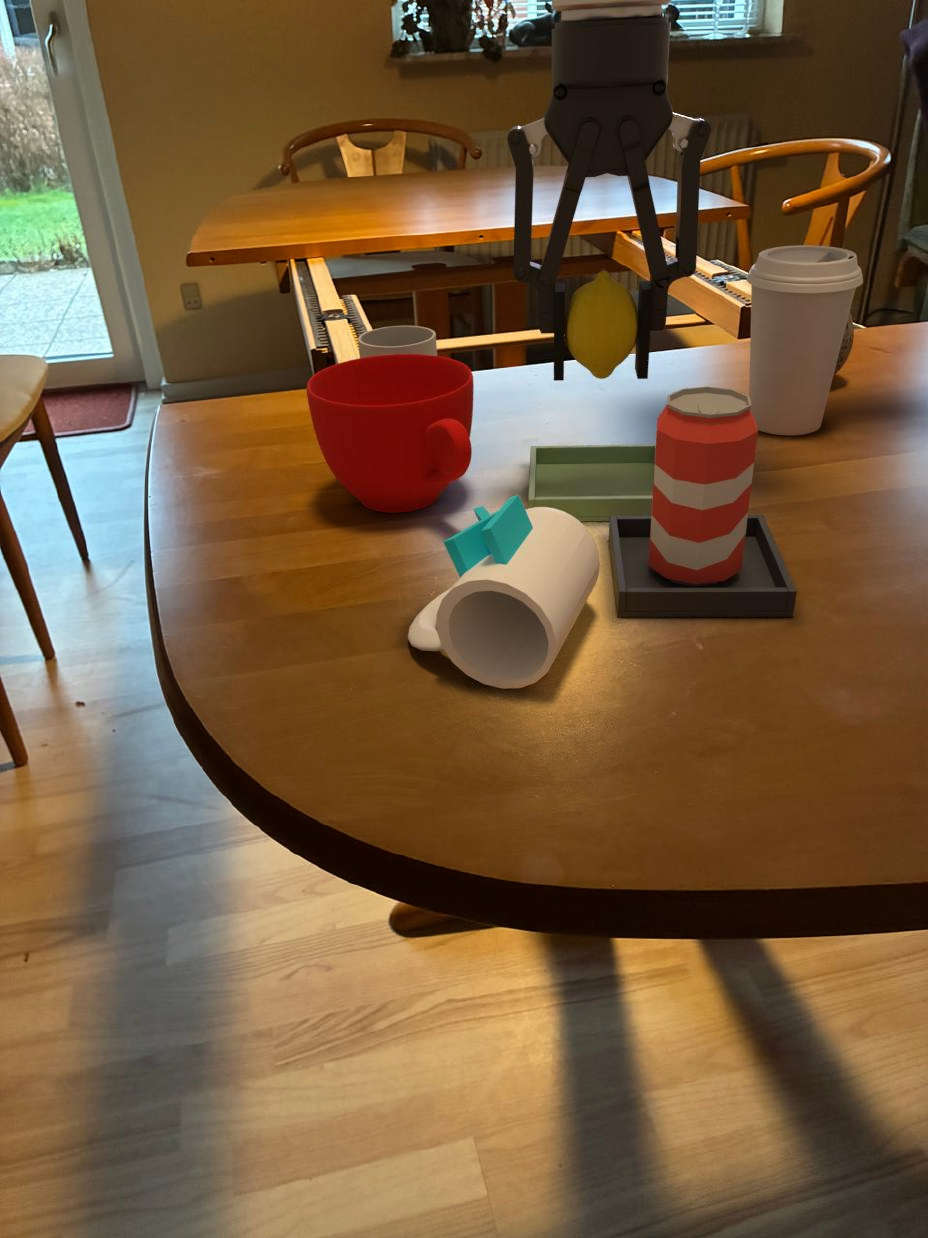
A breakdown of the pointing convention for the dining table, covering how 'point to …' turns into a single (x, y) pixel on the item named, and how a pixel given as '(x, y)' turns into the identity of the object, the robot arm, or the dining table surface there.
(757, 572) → the charcoal tray
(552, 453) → the green tray
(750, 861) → the dining table surface
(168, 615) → the dining table surface
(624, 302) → the fruit
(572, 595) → the mug
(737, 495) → the beverage can
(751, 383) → the coffee cup
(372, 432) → the ceramic cup
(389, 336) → the cup
